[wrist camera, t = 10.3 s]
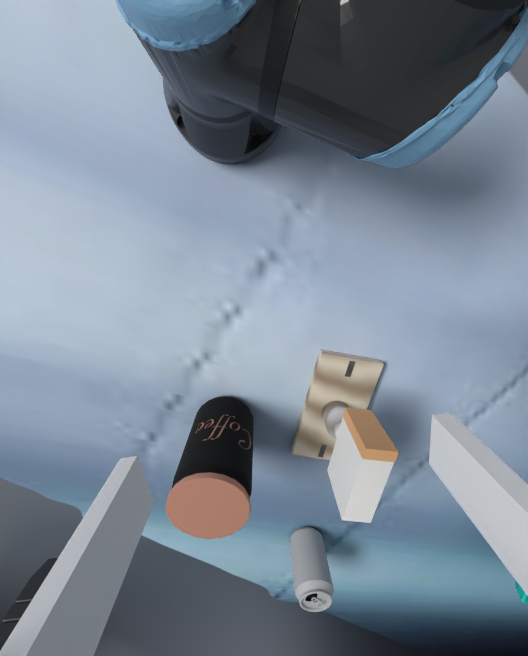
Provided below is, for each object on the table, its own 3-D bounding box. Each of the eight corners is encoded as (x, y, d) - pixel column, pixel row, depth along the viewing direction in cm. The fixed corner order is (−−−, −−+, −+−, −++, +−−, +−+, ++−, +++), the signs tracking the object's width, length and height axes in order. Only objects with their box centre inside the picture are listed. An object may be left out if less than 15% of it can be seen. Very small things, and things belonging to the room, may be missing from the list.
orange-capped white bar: (322, 455, 46) (341, 520, 35) (339, 395, 42) (366, 448, 32) (345, 457, 46) (371, 523, 36) (363, 398, 42) (398, 452, 32)
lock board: (320, 349, 46) (328, 363, 41) (380, 360, 47) (395, 375, 42) (291, 448, 53) (294, 471, 48) (344, 456, 54) (353, 480, 48)
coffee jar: (262, 404, 49) (264, 492, 32) (241, 446, 52) (232, 547, 35) (208, 385, 48) (179, 467, 31) (189, 430, 51) (154, 527, 34)
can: (303, 519, 59) (313, 586, 48) (328, 532, 61) (344, 600, 50) (282, 538, 61) (288, 606, 50) (307, 550, 63) (318, 619, 52)
